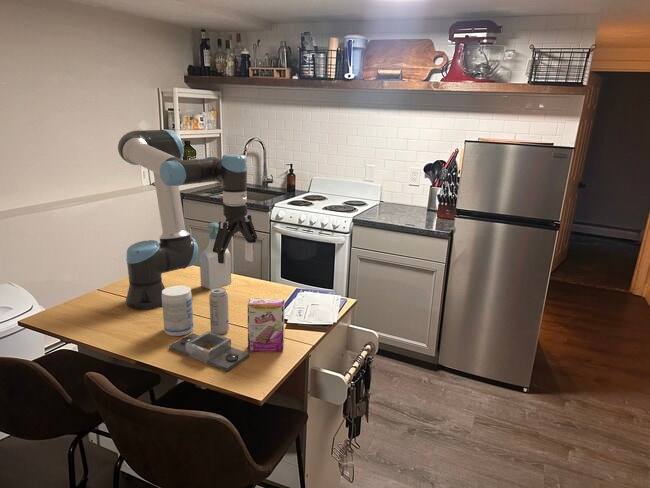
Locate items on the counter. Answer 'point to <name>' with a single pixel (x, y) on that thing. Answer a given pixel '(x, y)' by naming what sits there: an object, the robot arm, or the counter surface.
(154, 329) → the counter surface
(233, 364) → the grey base plate
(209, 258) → the soap bottle
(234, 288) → the counter surface
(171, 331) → the supplement tub
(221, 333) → the energy drink can
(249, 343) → the candy bar box
